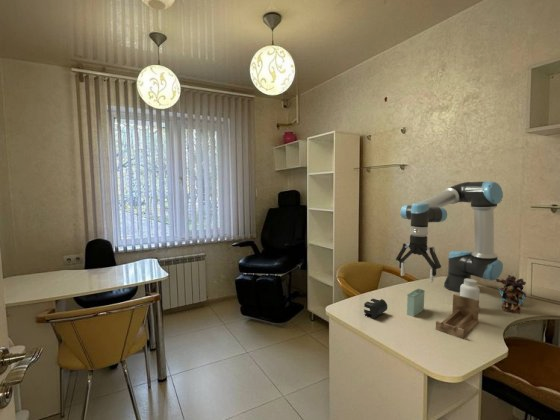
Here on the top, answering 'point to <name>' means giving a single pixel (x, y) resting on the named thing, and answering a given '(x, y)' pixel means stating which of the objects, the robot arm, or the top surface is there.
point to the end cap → (375, 308)
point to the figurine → (512, 293)
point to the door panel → (415, 302)
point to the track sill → (460, 317)
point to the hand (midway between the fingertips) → (416, 278)
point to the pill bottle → (470, 289)
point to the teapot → (519, 299)
